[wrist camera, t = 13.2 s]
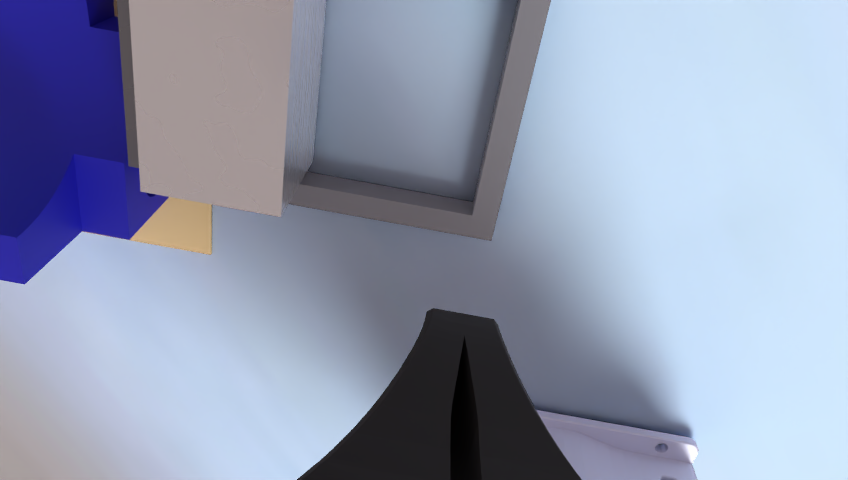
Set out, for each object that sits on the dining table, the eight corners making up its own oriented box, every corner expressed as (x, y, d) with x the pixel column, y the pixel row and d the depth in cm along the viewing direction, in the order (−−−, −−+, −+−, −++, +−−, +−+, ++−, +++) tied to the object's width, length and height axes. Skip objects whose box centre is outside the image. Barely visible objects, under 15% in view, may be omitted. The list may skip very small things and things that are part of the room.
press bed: (587, -169, 17) (592, -171, 16) (472, 300, 25) (472, 317, 24) (-61, -291, 17) (-90, -299, 16) (23, 219, 25) (6, 232, 24)
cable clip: (168, 197, 23) (78, 293, 18) (42, 173, 23) (-85, 264, 18) (155, -207, 17) (15, -234, 12) (-16, -241, 17) (-229, -281, 12)
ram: (328, -29, 19) (294, -4, 16) (313, 161, 22) (280, 217, 19) (171, -58, 19) (101, -39, 16) (176, 136, 22) (119, 187, 19)
